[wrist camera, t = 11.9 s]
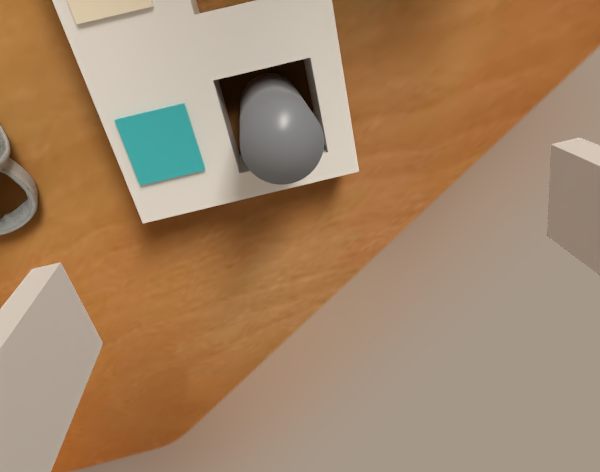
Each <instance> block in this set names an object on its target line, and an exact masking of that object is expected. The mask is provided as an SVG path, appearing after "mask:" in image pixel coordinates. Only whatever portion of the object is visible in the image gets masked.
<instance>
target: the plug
mask: <svg viewBox="0 0 600 472" xmlns="http://www.w3.org/2000/svg"><path fill="white" fill-rule="evenodd" d="M323 149H324V135H323V131H322V128H321V125H320V123H319V122H318V120H317V118H316V117H315V115H314V114H313V113H312V111H311V110H310V108H309V107H308V105H307V104H306V102H305V101H304V100H303V98H302V97H301V95H300V94H299V92H298V91H297V89H296V88H295V86H294V85H293V84H292V83H291V82H290V81H289V80H288V79H287V78H285V77H283V76H281V75H278V74H274V73H266V74H261V75H258V76H256V77H254V78H253V79H251V80H250V81H249V82H248V83H247V84H246V86H245V87H244V89H243V91H242V93H241V97H240V151H241V155H242V158H243V161H244V163H245V164H246V166H247V167H248V169H249V170H250V171H251V172H252V173H253V174H254V175H255V176H256V177H258V178H259V179H261V180H263V181H265V182H268V183H272V184H279V185H283V184H291V183H294V182H297V181H300V180H302V179H303V178H305V177H306V176H308V175H309V174H310V173H311V172H312V171H313V170H314V169H315V168H316V166H317V165H318V163H319V161H320V159H321V157H322V154H323Z"/></svg>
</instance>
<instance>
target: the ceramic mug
mask: <svg viewBox="0 0 600 472" xmlns="http://www.w3.org/2000/svg"><path fill="white" fill-rule="evenodd" d="M9 156H10V142H9V140H8V137H7V135H6V133H5V131H4V130H3V128H2V127H1V125H0V172H2V173H4V174H6V175H8V176H9V177H11V179H12V180H14V181H15V182H16V183H17V184H18V185H20V186H21V187H22V188H23V190H24V191H25V192H26V195H27V197H28V199H27V200H26V201H25V202H23V203H22V204H21V205H20V206H19V207H18V208H17V209H15V210H14V211H12V212H11V213H8V214H5V215H4V216H3V217H2V218H0V235H3V234H8V233H10V232H13V231H15V230H17V229H19V228H21V227H22V226H24V225H25V224H26V223H27V222H28V221H29V220H30V219H31V218H32V217H33V215H34V214H35V212H36V211H37V204H38V191H37V187H36V184H35V182H34V180H33V178H32V177H31V175H30V174H29V173H28V172H27V171H26V170H25V169H23V168H22V167H21V166H20V165H19V164H18V163H16V162H15V161H14V160H12V159H11V158H9Z"/></svg>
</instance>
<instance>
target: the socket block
mask: <svg viewBox="0 0 600 472" xmlns="http://www.w3.org/2000/svg"><path fill="white" fill-rule="evenodd" d="M52 1H53V4H54V6H55V9H56V11H57V14H58V16H59V19H60V21H61V23H62V26H63V28H64V31H65V33H66V36H67V38H68V41H69V43H70V46H71V48H72V50H73V53H74V55H75V58H76V60H77V63H78V65H79V68H80V70H81V73H82V75H83V78H84V80H85V82H86V85H87V87H88V90H89V92H90V95H91V97H92V100H93V102H94V105H95V107H96V109H97V112H98V114H99V117H100V119H101V122H102V124H103V127H104V129H105V132H106V134H107V137H108V139H109V141H110V144H111V146H112V149H113V151H114V154H115V156H116V159H117V161H118V164H119V166H120V168H121V171H122V173H123V176H124V178H125V181H126V183H127V186H128V188H129V191H130V193H131V195H132V198H133V200H134V203H135V205H136V208H137V210H138V213H139V215H140V218H141V220H142V223H147V222H151V221H156V220H160V219H164V218H168V217H172V216H176V215H181V214H185V213H189V212H193V211H197V210H201V209H206V208H210V207H214V206H218V205H222V204H226V203H230V202H235V201H239V200H243V199H247V198H251V197H255V196H260V195H264V194H268V193H272V192H276V191H280V190H284V189H289V188H293V187H297V186H301V185H305V184H309V183H314V182H318V181H322V180H326V179H330V178H334V177H339V176H343V175H347V174H351V173H355V172H359V168H358V162H357V156H356V149H355V143H354V137H353V130H352V124H351V118H350V111H349V105H348V99H347V92H346V86H345V80H344V73H343V67H342V61H341V54H340V48H339V42H338V35H337V29H336V23H335V16H334V10H333V4H332V0H255V1H251V2H246V3H242V4H238V5H234V6H229V7H225V8H221V9H217V10H213V11H208V12H204V13H200V12H199V8H198V4H197V1H196V0H52ZM302 59H303V60H304V65H305V70H306V75H307V80H308V86H309V91H310V96H311V101H312V106H313V111H314V115H315V117H316V118H317V120H318V122H319V123H320V125H321V128H322V131H323V135H324V149H323V154H322V157H321V159H320V161H319V163H318V165H317V166H316V168H315V169H314V170H313V171H312V172H311V173H310V174H309V175H308V176H306V177H305V178H303V179H302V180H300V181H297V182H294V183H291V184H283V185H279V184H272V183H268V182H265V181H263V180H261V179H259V178H258V177H256V176H255V175H254V174H253V173H252V172H251V171H250V170H249V169H248V167H247V166H246V164H245V163H244V161H243V158H242V155H239V152H238V148H237V144H236V141H235V137H234V134H233V130H232V126H231V123H230V119H229V116H228V112H227V108H226V105H225V101H224V98H223V94H222V90H221V87H220V83H219V80H218V79H222V78H226V77H230V76H235V75H239V74H243V73H247V72H252V71H256V70H260V69H264V68H268V67H273V66H277V65H281V64H285V63H289V62H294V61H298V60H302Z"/></svg>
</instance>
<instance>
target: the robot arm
mask: <svg viewBox="0 0 600 472" xmlns="http://www.w3.org/2000/svg"><path fill="white" fill-rule="evenodd" d="M547 236H548V237H549V238H551V239H552V240H554V241H555V242H556V243H558V244H559V245H560V246H562V247H563V248H564V249H566V250H567V251H568V252H570V253H571V254H572V255H574V256H575V257H576V258H578V259H579V260H580V261H582V262H583V263H584V264H586V265H587V266H588V267H590V268H591V269H592V270H594V271H595V272H596V273H598V274H599V275H600V145H597V144H595V143H592V142H589V141H587V140H584V139H582V138H576V139H572V140H568V141H563V142H559V143H555V144H551V158H550V183H549V206H548V230H547ZM102 345H103V342H102V341H101V339H100V337H99V335H98V333H97V331H96V329H95V327H94V325H93V323H92V321H91V319H90V317H89V316H88V314H87V312H86V310H85V308H84V306H83V304H82V302H81V300H80V298H79V296H78V294H77V293H76V291H75V289H74V287H73V285H72V283H71V281H70V279H69V277H68V275H67V273H66V271H65V269H64V268H63V266H62V264H61V262H60V263H56V264H52V265H47V266H43V267H39V268H35V269H32V270H31V271H30V272H29V273H28V275H27V276H26V277H25V279H24V280H23V281H22V282H21V284H20V285H19V286H18V287H17V289H16V290H15V291H14V292H13V294H12V295H11V296H10V297H9V299H8V300H7V301H6V303H5V304H4V305H3V306H2V308H1V309H0V472H51V470H52V468H53V465H54V463H55V460H56V458H57V455H58V453H59V450H60V448H61V446H62V443H63V441H64V438H65V436H66V433H67V431H68V428H69V426H70V423H71V421H72V418H73V416H74V414H75V411H76V409H77V406H78V404H79V401H80V399H81V396H82V394H83V391H84V389H85V387H86V384H87V382H88V379H89V377H90V374H91V372H92V369H93V367H94V364H95V362H96V359H97V357H98V355H99V352H100V350H101V347H102Z"/></svg>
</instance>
